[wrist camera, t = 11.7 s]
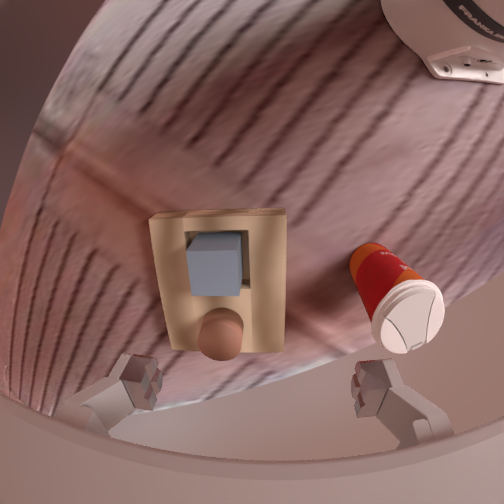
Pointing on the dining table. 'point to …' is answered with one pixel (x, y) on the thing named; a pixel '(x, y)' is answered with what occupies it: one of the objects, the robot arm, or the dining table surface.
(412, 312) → the paper cup
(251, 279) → the assembly board
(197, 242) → the slate block
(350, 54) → the dining table surface
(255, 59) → the dining table surface
